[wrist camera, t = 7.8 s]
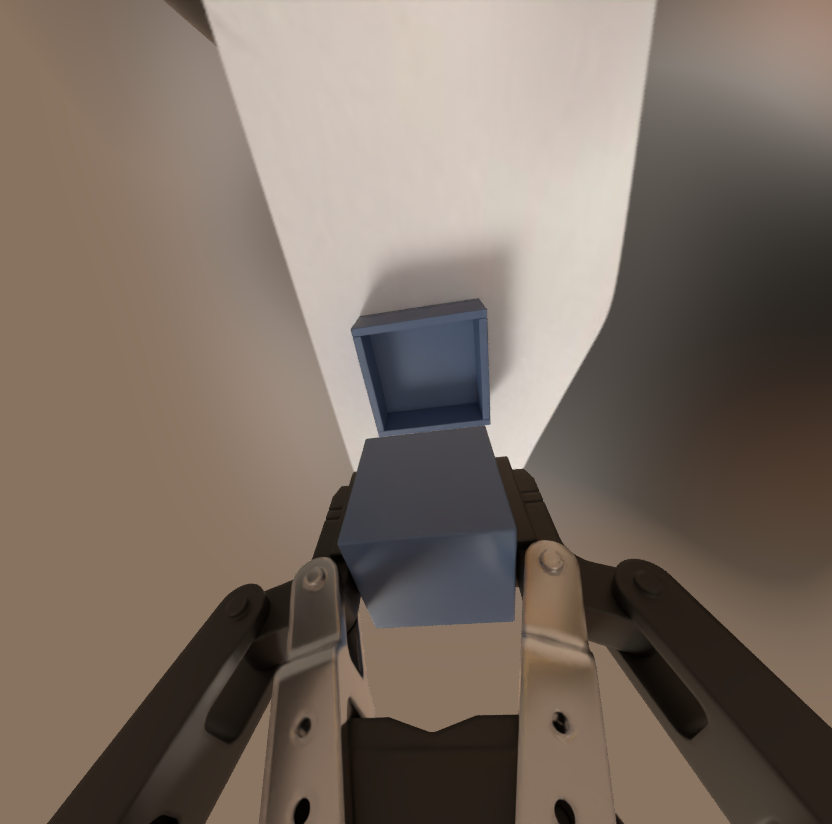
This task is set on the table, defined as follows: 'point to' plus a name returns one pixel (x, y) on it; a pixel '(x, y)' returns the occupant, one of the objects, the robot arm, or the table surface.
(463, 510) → the blue block
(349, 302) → the table surface
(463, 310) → the blue bin
